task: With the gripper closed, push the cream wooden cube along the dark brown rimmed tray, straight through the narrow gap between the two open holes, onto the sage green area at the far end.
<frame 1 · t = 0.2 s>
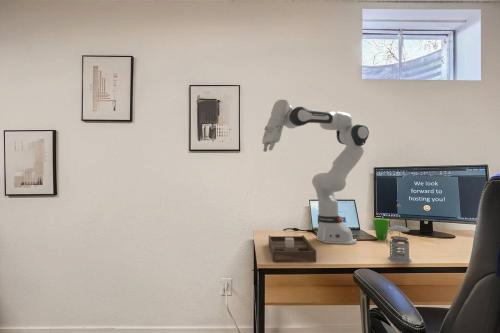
hand: (267, 150, 159), 51 cm above the table, tool tilted 20°, fingers open, 8 cm apart
block: (289, 246, 144), point 2 cm above the table, touching dark brown rimmed tray
french press: (397, 259, 131), on the table
cup: (381, 239, 169), on the table
dark brown rimmed tray: (289, 252, 142), on the table
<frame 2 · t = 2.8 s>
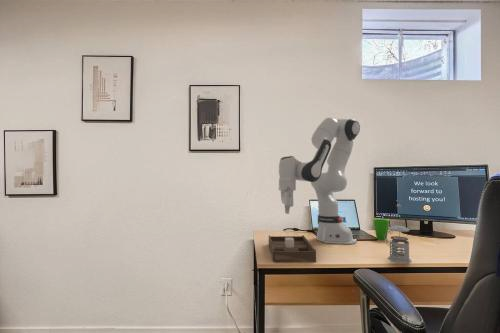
hand: (287, 213, 151), 18 cm above the table, tool pointing down, fingers closed
nothing on the table moved.
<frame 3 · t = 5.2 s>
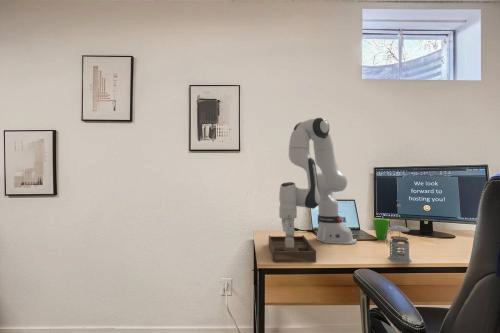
hand: (288, 241, 147), 4 cm above the table, tool pointing down, fingers closed
block: (289, 246, 144), point 3 cm above the table, touching dark brown rimmed tray, gripper
everything else where it was.
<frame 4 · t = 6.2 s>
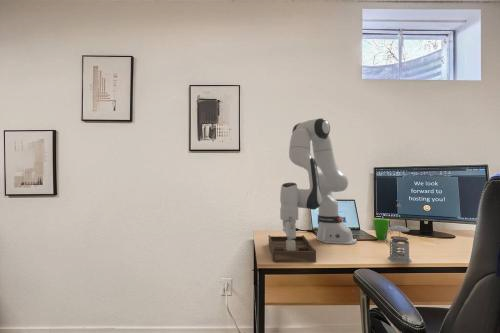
hand: (289, 243, 142), 4 cm above the table, tool pointing down, fingers closed
block: (290, 249, 138), point 3 cm above the table, touching gripper
everything else where it was.
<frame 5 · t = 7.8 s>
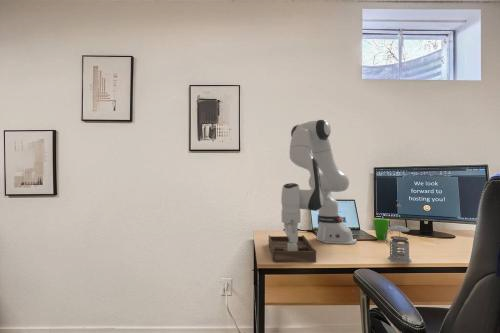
hand: (291, 247, 136), 4 cm above the table, tool pointing down, fingers closed, pressing on block
block: (292, 252, 133), point 2 cm above the table, touching dark brown rimmed tray, gripper
everything else where it was.
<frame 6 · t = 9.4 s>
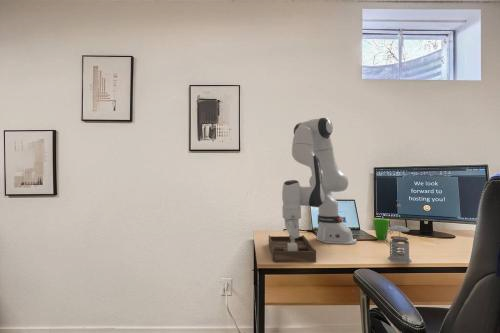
hand: (292, 243, 138), 6 cm above the table, tool pointing down, fingers closed
block: (292, 252, 133), point 2 cm above the table, touching dark brown rimmed tray
everything else where it was.
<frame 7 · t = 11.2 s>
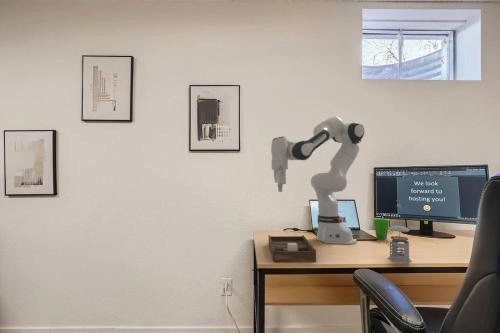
hand: (280, 191, 156), 29 cm above the table, tool pointing down, fingers closed
nothing on the table moved.
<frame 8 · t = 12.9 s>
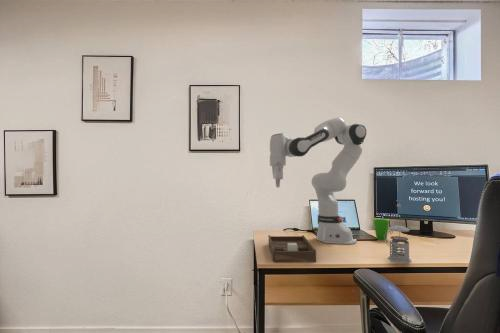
hand: (277, 187, 161), 31 cm above the table, tool pointing down, fingers closed
nothing on the table moved.
at the end: block 1.7 cm from the target spot on the dark brown rimmed tray, point 2.5 cm above the dark brown rimmed tray's base; block tilted 0° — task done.
